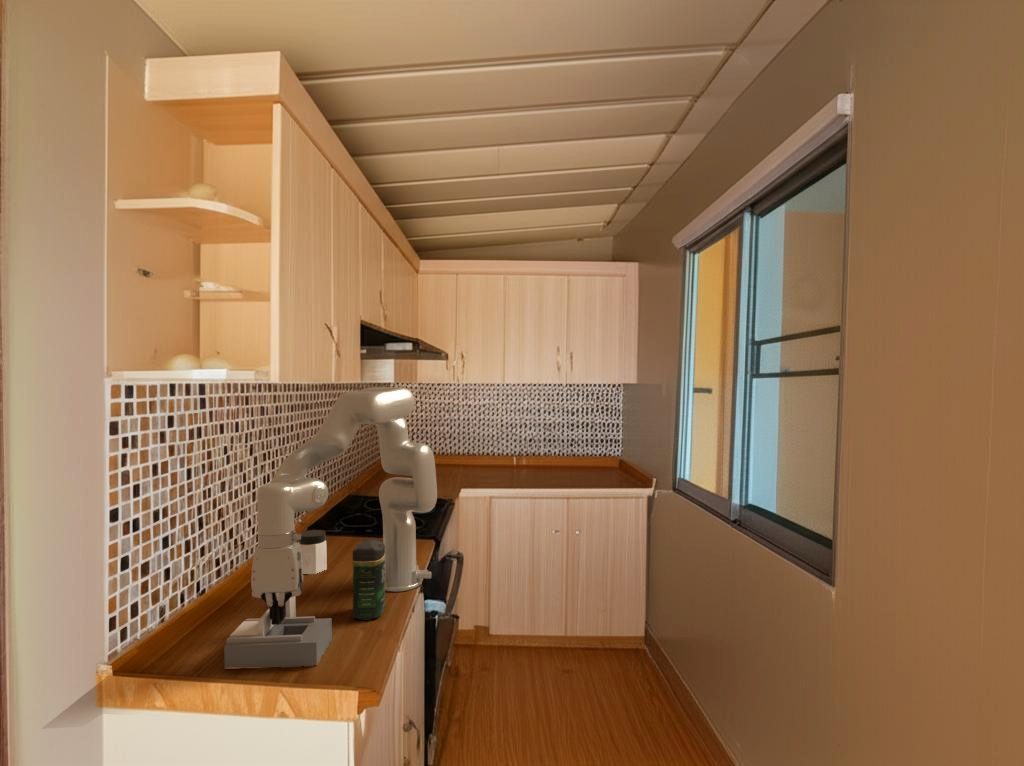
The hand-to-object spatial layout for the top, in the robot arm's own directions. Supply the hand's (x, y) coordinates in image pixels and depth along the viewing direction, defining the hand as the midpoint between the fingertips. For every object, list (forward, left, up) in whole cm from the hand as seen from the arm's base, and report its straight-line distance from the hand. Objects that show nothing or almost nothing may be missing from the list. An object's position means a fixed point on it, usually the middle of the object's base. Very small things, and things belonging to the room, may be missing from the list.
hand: (277, 621), depth 122 cm
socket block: (-1, 0, -7) cm, 7 cm away
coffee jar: (-16, -20, -7) cm, 27 cm away
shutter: (+5, 0, -2) cm, 6 cm away
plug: (+3, -12, -7) cm, 14 cm away
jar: (+9, -55, -7) cm, 56 cm away
